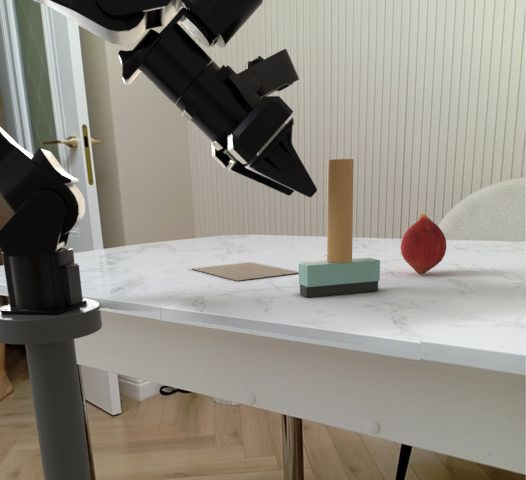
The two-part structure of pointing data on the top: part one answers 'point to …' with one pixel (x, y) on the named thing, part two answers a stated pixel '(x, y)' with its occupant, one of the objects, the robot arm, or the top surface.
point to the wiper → (339, 244)
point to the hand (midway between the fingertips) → (302, 193)
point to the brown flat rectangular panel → (244, 271)
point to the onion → (423, 245)
